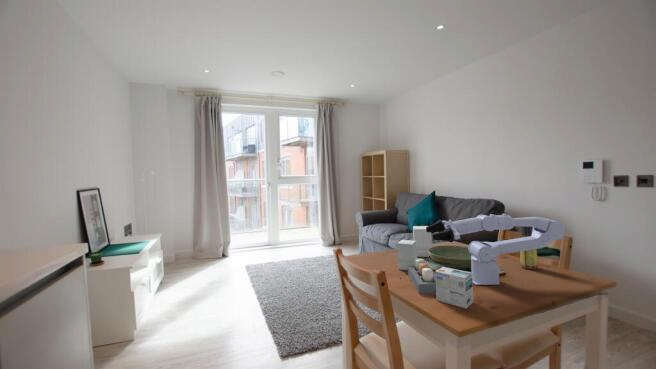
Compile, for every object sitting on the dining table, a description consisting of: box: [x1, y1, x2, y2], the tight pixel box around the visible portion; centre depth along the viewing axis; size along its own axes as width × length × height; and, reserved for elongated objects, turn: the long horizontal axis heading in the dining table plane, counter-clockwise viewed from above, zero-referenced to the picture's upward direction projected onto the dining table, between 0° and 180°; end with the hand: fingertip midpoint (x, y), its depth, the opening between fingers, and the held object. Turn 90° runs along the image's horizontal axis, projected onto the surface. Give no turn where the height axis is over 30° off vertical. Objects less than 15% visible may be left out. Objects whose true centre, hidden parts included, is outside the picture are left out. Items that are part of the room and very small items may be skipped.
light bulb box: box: [434, 266, 474, 309], centre depth 102 cm, size 11×7×11 cm, turn 45°
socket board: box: [407, 266, 436, 295], centre depth 120 cm, size 9×21×4 cm, turn 176°
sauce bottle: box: [519, 226, 538, 270], centre depth 131 cm, size 7×6×20 cm
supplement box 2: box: [412, 225, 433, 258], centre depth 158 cm, size 9×9×15 cm
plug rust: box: [419, 263, 430, 276], centre depth 120 cm, size 4×4×5 cm
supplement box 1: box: [396, 239, 418, 271], centre depth 139 cm, size 7×7×13 cm
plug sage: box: [416, 258, 426, 271], centre depth 126 cm, size 4×4×5 cm
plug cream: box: [422, 267, 434, 282], centre depth 114 cm, size 4×4×5 cm
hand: (429, 233), depth 119 cm, fingers open, 7 cm apart
